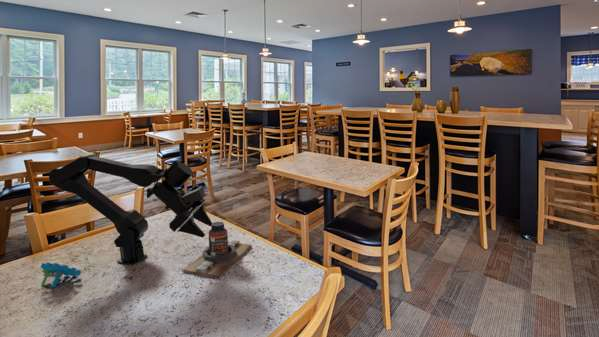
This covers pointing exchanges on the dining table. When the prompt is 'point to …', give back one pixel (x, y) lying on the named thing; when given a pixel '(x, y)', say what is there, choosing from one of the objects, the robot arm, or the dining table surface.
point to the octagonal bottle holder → (217, 261)
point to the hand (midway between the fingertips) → (208, 230)
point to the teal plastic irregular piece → (57, 272)
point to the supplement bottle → (218, 240)
